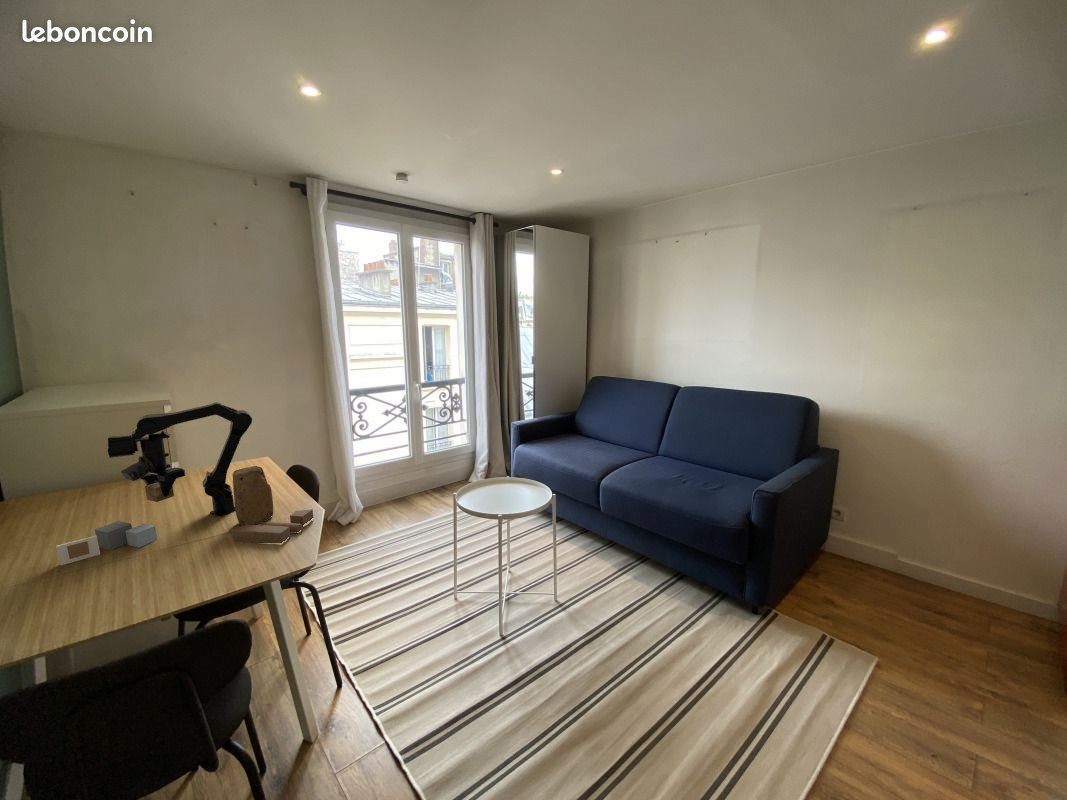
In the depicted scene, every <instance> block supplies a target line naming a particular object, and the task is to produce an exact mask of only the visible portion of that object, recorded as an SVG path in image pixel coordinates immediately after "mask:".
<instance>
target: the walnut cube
mask: <svg viewBox="0 0 1067 800" xmlns="http://www.w3.org/2000/svg"><path fill="white" fill-rule="evenodd" d="M144 487H145V488H144V489H145V495H146V500H147V501H150V502H156V503H159V502H161V501H164V500H168V499H171V498H173V497H175V494H174V493H175V492H174V485H173V486H172V488H171V490H170V492H169V494H168V496H166V497H164V496H163V494H162V491H161V487H160V484H159V483H154V484H150V485H145V486H144Z"/></svg>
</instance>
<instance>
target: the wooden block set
mask: <svg viewBox="0 0 1067 800" xmlns="http://www.w3.org/2000/svg"><path fill="white" fill-rule="evenodd" d="M312 518H314V510H313V509H302V510H295V511H294V512H293V513H291V514H290V515H289V519H290V521H289V522H281V521H279V522H277V521H267V522H266V523H265V524H264V525H258V524H256V525H244V526H241V525H240V526H236V527H235V528H234V529H232V530H231V532H232V539H233V542H238V541H239V543H240V542H242V543H253V542H255V544H256V543H282V542H283V541H285V540H286V539H287V538H288V537H291V533H290V532H296V533H297V532H299V531H300V530H302V529H304V528H303V525H304V524H305V523H307V522H308V521H310V520H311V519H312ZM302 531H303V530H302ZM296 533H295V534H296Z"/></svg>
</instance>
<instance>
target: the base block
mask: <svg viewBox="0 0 1067 800" xmlns="http://www.w3.org/2000/svg"><path fill="white" fill-rule="evenodd" d="M132 528H133V526H132V523H130V522H127V521H126V522H124V521H121V520H118V521H115V522H111V523H109V524H106V525H104V526H101V527H97V528H95V529H94V533H95V534H94V535H95V536H96V535H97V540H98V545H99V548H102V549H106V550H109V551H112V550H114V549H117V548H119V547H122V546H124V545H126V544H127V545H128V543H127V537H126V532H125V531H126V530H129V529H132Z"/></svg>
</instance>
